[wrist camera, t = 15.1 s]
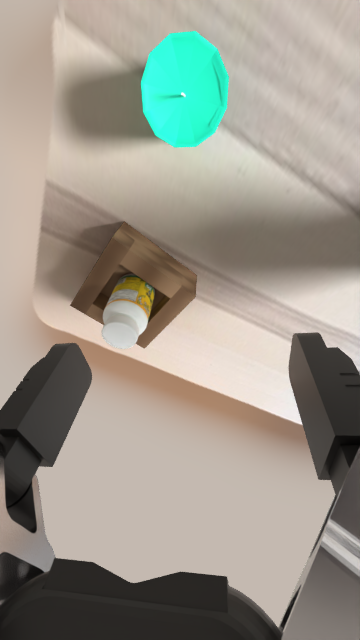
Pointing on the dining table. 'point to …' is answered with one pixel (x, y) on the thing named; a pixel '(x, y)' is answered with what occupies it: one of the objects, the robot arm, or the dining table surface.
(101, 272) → the walnut tray
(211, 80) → the candle
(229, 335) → the dining table surface
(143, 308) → the supplement bottle
